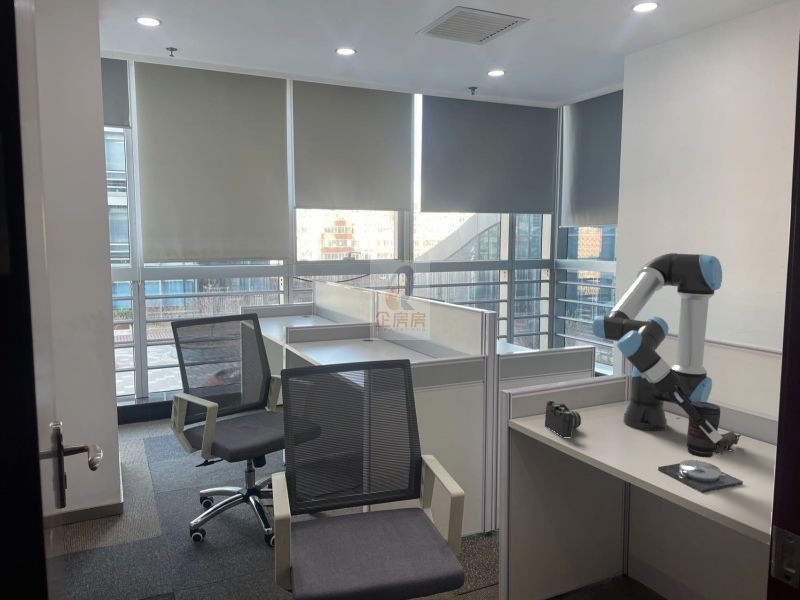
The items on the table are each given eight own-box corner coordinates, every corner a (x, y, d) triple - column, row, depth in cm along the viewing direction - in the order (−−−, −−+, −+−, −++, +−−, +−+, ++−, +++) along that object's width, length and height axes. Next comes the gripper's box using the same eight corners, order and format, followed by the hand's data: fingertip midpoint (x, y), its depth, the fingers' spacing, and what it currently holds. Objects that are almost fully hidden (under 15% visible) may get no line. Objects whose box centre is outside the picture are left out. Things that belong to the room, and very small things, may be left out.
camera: (589, 436, 207) (591, 409, 205) (562, 439, 204) (564, 411, 202) (566, 423, 220) (568, 397, 219) (541, 425, 217) (542, 399, 216)
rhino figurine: (745, 448, 199) (746, 431, 198) (720, 455, 192) (722, 437, 192) (733, 444, 203) (734, 427, 202) (708, 450, 196) (710, 433, 195)
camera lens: (719, 460, 169) (724, 410, 167) (689, 457, 170) (694, 407, 168) (710, 449, 177) (715, 401, 175) (682, 447, 178) (686, 399, 176)
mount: (696, 463, 185) (697, 454, 185) (742, 484, 170) (743, 474, 170) (657, 470, 179) (658, 460, 179) (702, 492, 164) (703, 482, 164)
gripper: (647, 375, 185) (698, 431, 183) (653, 392, 166) (711, 455, 163) (666, 360, 183) (719, 416, 180) (675, 376, 163) (734, 439, 161)
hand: (715, 435), depth 172 cm, fingers closed on camera lens, 8 cm apart
